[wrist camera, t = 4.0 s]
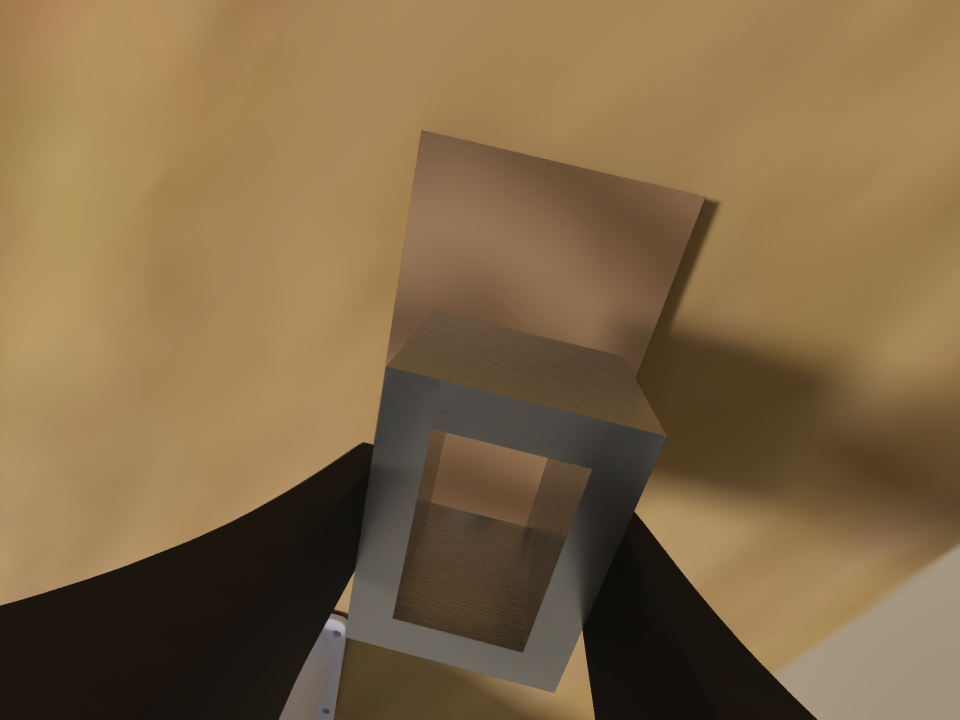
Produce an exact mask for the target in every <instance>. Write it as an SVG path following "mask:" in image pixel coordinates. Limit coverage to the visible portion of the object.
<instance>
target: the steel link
mask: <svg viewBox="0 0 960 720" xmlns="http://www.w3.org/2000/svg"><path fill="white" fill-rule="evenodd" d="M446 433H450V434H454V435H458V436H462V437H466V438H470V439H474V440H478V441H482V442H486V443H490V444H494V445H498V446H502V447H506V448H510V449H514V450H518V451H522V452H526V453H530V454H534V455H538V456H542V457H546V458H548V460H547V463H546V466H545V469H544V472H543V475H542V478H541V481H540V484H539V487H538V490H537V493H536V496H535V500H534V503H533V506H532V509H531V512H530V515H529V518H528V521H527V524H526V527H525V526H521V525H518V524H514V523H510V522H506V521H502V520H498V519H494V518H490V517H486V516H482V515H478V514H475V513H471V512H467V511H463V510H459V509H455V508H451V507H447V506H443V505H439V504H435V503H432V502H431V499H432V494H433V489H434V485H435V480H436V476H437V471H438V467H439V462H440V458H441V453H442V449H443V444H444V440H445V435H446ZM666 437H667V435H666V433H665V431H664V430H663V428H662V426H661V424H660V422H659V421H658V419H657V417H656V415H655V413H654V412H653V410H652V408H651V406H650V404H649V403H648V401H647V399H646V397H645V395H644V393H643V392H642V390H641V388H640V386H639V384H638V383H637V381H636V379H635V377H634V375H633V374H632V372H631V370H630V368H629V366H628V365H627V363H626V361H625V359H624V357H623V356H620V355H616V354H612V353H608V352H604V351H600V350H595V349H591V348H587V347H583V346H579V345H575V344H571V343H567V342H563V341H559V340H555V339H551V338H546V337H542V336H538V335H534V334H530V333H526V332H522V331H518V330H514V329H510V328H506V327H502V326H497V325H493V324H489V323H485V322H481V321H477V320H473V319H469V318H465V317H461V316H457V315H453V314H448V313H444V312H440V311H436V310H433V311H432V312H431V313H430V315H429V316H428V317H427V318H426V319H425V321H424V322H423V323H422V324H421V325H420V326H419V328H418V329H417V330H416V331H415V332H414V334H413V335H412V336H411V337H410V338H409V340H408V341H407V342H406V343H405V344H404V345H403V347H402V348H401V349H400V350H399V351H398V353H397V354H396V355H395V356H394V357H393V358H392V360H391V361H390V362H389V363H388V364H387V366H386V369H385V376H384V383H383V389H382V396H381V402H380V409H379V416H378V422H377V429H376V435H375V442H374V448H373V455H372V462H371V468H370V475H369V482H368V488H367V495H366V501H365V508H364V515H363V521H362V528H361V534H360V541H359V548H358V554H357V561H356V568H355V574H354V580H353V587H352V593H351V600H350V607H349V613H348V620H347V626H346V633H345V637H346V638H349V639H353V640H357V641H361V642H365V643H368V644H372V645H376V646H380V647H383V648H387V649H391V650H395V651H399V652H402V653H406V654H410V655H414V656H417V657H421V658H425V659H429V660H433V661H436V662H440V663H444V664H448V665H451V666H455V667H459V668H463V669H467V670H470V671H474V672H478V673H482V674H485V675H489V676H493V677H497V678H501V679H504V680H508V681H512V682H516V683H519V684H523V685H527V686H531V687H535V688H538V689H542V690H546V691H550V692H553V693H555V691H556V688H557V686H558V684H559V681H560V679H561V677H562V675H563V672H564V670H565V668H566V665H567V663H568V661H569V659H570V656H571V654H572V652H573V649H574V647H575V645H576V643H577V640H578V638H579V636H580V634H581V631H582V629H583V626H584V624H585V622H586V620H587V617H588V615H589V613H590V610H591V608H592V606H593V604H594V601H595V599H596V597H597V594H598V592H599V590H600V588H601V585H602V583H603V581H604V578H605V576H606V574H607V572H608V569H609V567H610V565H611V563H612V560H613V558H614V556H615V553H616V551H617V549H618V547H619V544H620V542H621V540H622V537H623V535H624V533H625V531H626V529H627V526H628V524H629V522H630V520H631V517H632V515H633V513H634V510H635V508H636V506H637V504H638V501H639V499H640V497H641V494H642V492H643V490H644V488H645V485H646V483H647V481H648V478H649V476H650V474H651V472H652V469H653V467H654V465H655V463H656V460H657V458H658V456H659V453H660V451H661V449H662V447H663V444H664V442H665V440H666Z"/></svg>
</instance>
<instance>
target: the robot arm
mask: <svg viewBox="0 0 960 720" xmlns="http://www.w3.org/2000/svg"><path fill="white" fill-rule="evenodd" d="M373 448H374V445H372V444H368V443H364V442H363V443H361V444H359V445H358V446H356V447H355V448H353V449H352V450H350V451H349V452H347V453H346V454H344V455H343V456H341V457H340V458H338V459H337V460H335V461H334V462H332V463H331V464H329V465H328V466H326V467H325V468H323V469H322V470H320V471H319V472H317V473H316V474H314V475H313V476H311V477H309V478H308V479H306V480H305V481H303V482H301V483H300V484H298V485H297V486H295V487H293V488H292V489H290V490H289V491H287V492H285V493H283V494H282V495H280V496H278V497H276V498H274V499H273V500H271V501H269V502H267V503H266V504H264V505H262V506H260V507H259V508H257V509H255V510H253V511H251V512H249V513H248V514H246V515H244V516H242V517H240V518H238V519H236V520H234V521H232V522H230V523H228V524H226V525H224V526H222V527H219V528H217V529H215V530H213V531H211V532H209V533H206V534H204V535H202V536H200V537H197V538H195V539H193V540H191V541H188V542H186V543H183V544H181V545H178V546H176V547H173V548H170V549H168V550H165V551H163V552H160V553H158V554H155V555H153V556H150V557H148V558H145V559H143V560H140V561H137V562H135V563H132V564H130V565H127V566H124V567H122V568H119V569H116V570H113V571H110V572H107V573H104V574H101V575H98V576H95V577H92V578H90V579H87V580H84V581H80V582H77V583H74V584H71V585H68V586H65V587H62V588H58V589H55V590H52V591H49V592H46V593H43V594H39V595H36V596H32V597H29V598H26V599H22V600H19V601H16V602H12V603H8V604H4V605H1V606H0V720H333V719H334V715H335V708H336V702H337V695H338V689H339V682H340V676H341V670H342V663H343V657H344V650H345V644H346V637H345V633H346V626H347V619H346V618H344V617H342V616H339V615H336V614H332V612H333V610H334V608H335V606H336V604H337V602H338V601H339V599H340V597H341V595H342V593H343V591H344V590H345V588H346V586H347V584H348V582H349V580H350V578H351V577H352V575H353V573H354V571H355V568H356V561H357V554H358V548H359V541H360V534H361V528H362V521H363V515H364V508H365V501H366V495H367V488H368V482H369V475H370V468H371V462H372V455H373ZM582 630H583V637H584V644H585V651H586V659H587V665H588V672H589V679H590V686H591V693H592V700H593V707H594V714H595V720H817V719H816V718H815V717H814V716H813V715H812V714H811V713H810V712H809V711H808V710H807V709H806V708H805V707H804V706H803V705H802V704H801V703H800V702H798V701H797V700H796V699H795V698H794V697H793V696H792V695H791V694H790V693H789V692H788V691H787V690H786V688H784V686H783V685H782V684H780V682H779V681H778V680H777V679H776V678H775V677H774V676H773V675H772V674H771V673H770V672H769V671H768V670H767V669H766V668H765V667H764V666H763V665H762V664H761V663H760V662H759V661H758V660H757V659H756V658H755V657H754V656H753V655H752V653H751V652H750V651H749V650H748V649H747V648H746V647H745V646H744V645H743V644H742V643H741V642H740V640H739V639H738V638H737V637H736V636H735V635H734V634H733V632H732V631H731V630H730V629H729V628H728V627H727V626H726V625H725V623H724V622H723V621H722V620H721V619H720V618H719V617H718V615H717V614H716V613H715V612H714V611H713V610H712V608H711V607H710V606H709V605H708V604H707V602H706V601H705V600H704V599H703V598H702V596H701V595H700V594H699V593H698V592H697V590H696V589H695V588H694V587H693V585H692V584H691V583H690V582H689V580H688V579H687V578H686V577H685V575H684V574H683V573H682V572H681V570H680V569H679V568H678V567H677V565H676V564H675V563H674V561H673V560H672V559H671V558H670V556H669V555H668V554H667V552H666V551H665V550H664V549H663V547H662V546H661V545H660V543H659V542H658V541H657V539H656V538H655V537H654V536H653V534H652V533H651V532H650V530H649V529H648V528H647V527H646V525H645V524H644V523H643V521H642V520H641V519H640V518H639V517H638V515H637V514H636V513H635V512H634V513H633V515H632V517H631V520H630V522H629V524H628V526H627V529H626V531H625V533H624V535H623V537H622V540H621V542H620V544H619V547H618V549H617V551H616V553H615V556H614V558H613V560H612V563H611V565H610V567H609V569H608V572H607V574H606V576H605V578H604V581H603V583H602V585H601V588H600V590H599V592H598V594H597V597H596V599H595V601H594V604H593V606H592V608H591V610H590V613H589V615H588V617H587V620H586V622H585V624H584V626H583V629H582Z"/></svg>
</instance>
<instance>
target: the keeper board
mask: <svg viewBox="0 0 960 720" xmlns="http://www.w3.org/2000/svg"><path fill="white" fill-rule="evenodd" d="M704 199H705V197H703V196H699V195H695V194H690V193H686V192H682V191H678V190H673V189H669V188H665V187H661V186H656V185H652V184H648V183H644V182H639V181H635V180H631V179H627V178H622V177H618V176H614V175H610V174H605V173H601V172H597V171H592V170H588V169H584V168H580V167H575V166H571V165H567V164H563V163H558V162H554V161H550V160H546V159H541V158H537V157H533V156H529V155H524V154H520V153H516V152H512V151H507V150H503V149H499V148H495V147H490V146H486V145H482V144H477V143H473V142H469V141H465V140H460V139H456V138H452V137H448V136H443V135H439V134H435V133H431V132H426V131H422V130H421V136H420V143H419V150H418V156H417V163H416V169H415V176H414V182H413V189H412V195H411V202H410V209H409V215H408V222H407V228H406V235H405V241H404V248H403V254H402V261H401V268H400V274H399V281H398V287H397V294H396V300H395V307H394V313H393V320H392V327H391V333H390V340H389V346H388V353H387V359H386V366H387V364H388V363H389V362H390V361H391V360H392V358H393V357H394V356H395V355H396V354H397V353H398V351H399V350H400V349H401V348H402V347H403V345H404V344H405V343H406V342H407V341H408V340H409V338H410V337H411V336H412V335H413V334H414V332H415V331H416V330H417V329H418V328H419V326H420V325H421V324H422V323H423V322H424V321H425V319H426V318H427V317H428V316H429V315H430V313H431V312H432V311H433V310H436V311H440V312H444V313H448V314H453V315H457V316H461V317H465V318H469V319H473V320H477V321H481V322H485V323H489V324H493V325H497V326H502V327H506V328H510V329H514V330H518V331H522V332H526V333H530V334H534V335H538V336H542V337H546V338H551V339H555V340H559V341H563V342H567V343H571V344H575V345H579V346H583V347H587V348H591V349H595V350H600V351H604V352H608V353H612V354H616V355H620V356H623V357H624V359H625V361H626V363H627V365H628V366H629V368H630V370H631V372H632V374H633V375H634V377H635V379H636V376H637V374H638V371H639V369H640V366H641V363H642V361H643V358H644V356H645V353H646V350H647V348H648V345H649V342H650V340H651V337H652V335H653V332H654V329H655V327H656V324H657V322H658V319H659V316H660V314H661V311H662V309H663V306H664V303H665V301H666V298H667V296H668V293H669V290H670V288H671V285H672V283H673V280H674V277H675V275H676V272H677V270H678V267H679V264H680V262H681V259H682V257H683V254H684V251H685V249H686V246H687V243H688V241H689V238H690V236H691V233H692V230H693V228H694V225H695V223H696V220H697V217H698V215H699V212H700V210H701V207H702V204H703V202H704ZM386 366H385V369H386ZM384 376H385V372H384ZM383 383H384V379H383ZM382 389H383V386H382ZM381 396H382V392H381ZM380 402H381V399H380ZM379 409H380V405H379ZM378 416H379V412H378ZM377 422H378V418H377ZM376 429H377V425H376ZM375 435H376V431H375ZM374 442H375V438H374ZM547 460H548V458H546V457H542V456H538V455H534V454H530V453H526V452H522V451H518V450H514V449H510V448H506V447H502V446H498V445H494V444H490V443H486V442H482V441H478V440H474V439H470V438H466V437H462V436H458V435H454V434H450V433H446V435H445V440H444V444H443V449H442V453H441V458H440V462H439V467H438V471H437V476H436V480H435V485H434V489H433V494H432V499H431V502H432V503H435V504H439V505H443V506H447V507H451V508H455V509H459V510H463V511H467V512H471V513H475V514H478V515H482V516H486V517H490V518H494V519H498V520H502V521H506V522H510V523H514V524H518V525H521V526H525V527H526V524H527V521H528V518H529V515H530V512H531V509H532V506H533V503H534V500H535V496H536V493H537V490H538V487H539V484H540V481H541V478H542V475H543V472H544V469H545V466H546V463H547Z"/></svg>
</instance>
